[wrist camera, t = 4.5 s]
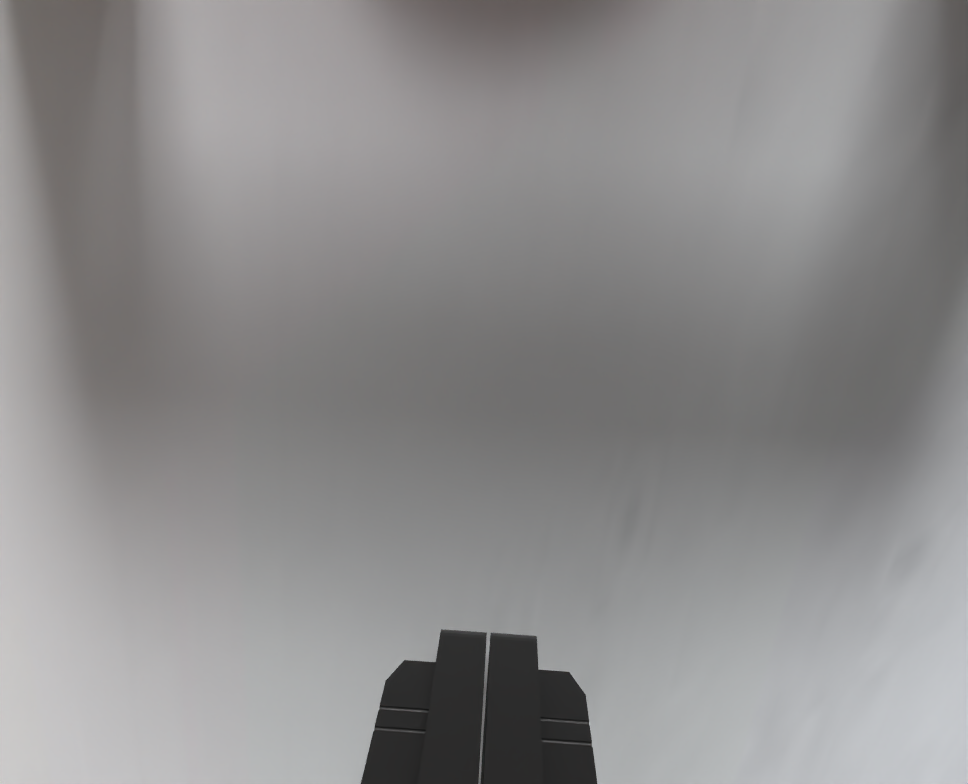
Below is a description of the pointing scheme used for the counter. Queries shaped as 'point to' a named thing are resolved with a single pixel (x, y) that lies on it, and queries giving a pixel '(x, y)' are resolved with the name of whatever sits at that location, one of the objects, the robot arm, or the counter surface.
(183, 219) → the counter surface
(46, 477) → the counter surface
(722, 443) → the counter surface
